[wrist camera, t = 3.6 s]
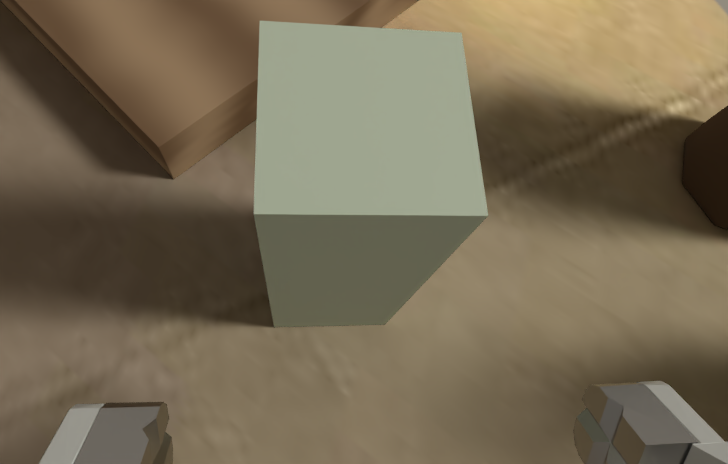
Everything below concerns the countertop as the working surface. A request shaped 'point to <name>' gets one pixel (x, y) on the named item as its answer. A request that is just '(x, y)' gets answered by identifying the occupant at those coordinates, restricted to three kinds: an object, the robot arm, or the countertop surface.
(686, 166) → the beer bottle
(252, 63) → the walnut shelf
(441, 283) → the countertop surface
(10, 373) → the countertop surface
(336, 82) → the sage carton
